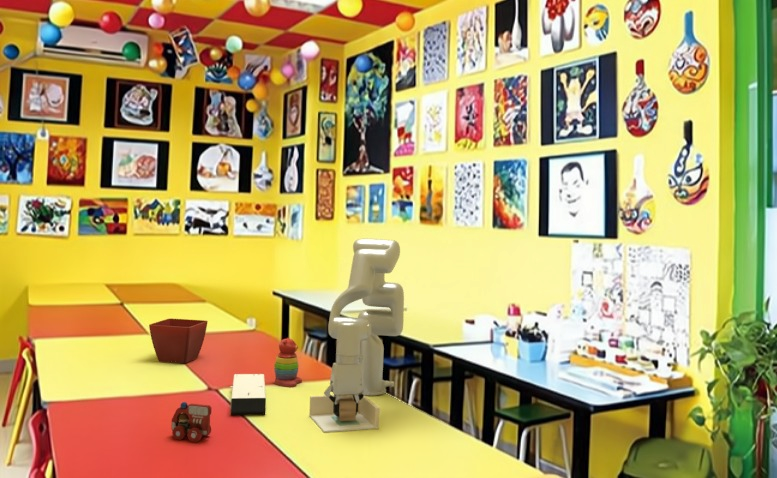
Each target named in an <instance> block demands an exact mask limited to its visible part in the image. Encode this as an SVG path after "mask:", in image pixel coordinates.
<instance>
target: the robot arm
mask: <svg viewBox="0 0 777 478" xmlns="http://www.w3.org/2000/svg"><path fill="white" fill-rule="evenodd" d="M352 251H353V256H352V264H351V269H350V273H349V279H348V285H347V288H346V289H345V290H344V291H343V292H342V293H340V294H339V296H338V297H337V298H336V299H335V301H334V302H333V304H332V306H331V310H330V313H329V319H328V320H329V321H328V330H327V331H328V335H329V336H330V337H331V338H332V339H336V351H335V352H336V353H335V362H333V363H332V368H331V373H330V379H329V386H328V387H326V389H325V390H324V391H323V394H324V395H326V396H327V397H328V398H329V399H330V400H331V401H332V402H333V403H334V404H333V413H334V414H335V415H336V416H337V417H339V399H340V396H341V395H353V399H354V401H355V402H356V415H357V412H358V403H359V402H360V400H361V399H362V398H363V397H364V396H365V397H366V396H368V397H369V396H382V395H384V394H386V392H387V387H389V388H390V387H394V386H395V382H394V381H389V380H384V379H383V372H384V371H383V370H384V369H383V368H384V350H385V348H384V344H383V341H382V340H381V339H380V337H379V336H388V337H398V336H400V335H401V334H402V333H403V330H404V318H405V317H404V314H405V312H404V309H405V307H404V306H405V294H404V293H405V292H404V288H403V286H402V285H401V284H400V283H398V282H386V281H385V274H390V273H392V272H393V271H394V269H395V267H396V265H397V263H398V262H399V261H398V260H399V258H400V255H401V247H400V244H399V242H398V241H397V240H393V239H381V238H380V239H378V238H358V239H356V240H355V241H354V242H353V245H352ZM359 300H362V303H363V305H365V306H367V307H372V308H373V307H375V308H387V309H388V308H389V309H390V310H385V309H384V310H383V309H372V308H371V309H370V308H368V309H364V310H362V311H360V312H359V313H358V315H357V317H353V316H340V315H341V313H342V311H343V310H344V308H346V307H347V306H348V305H349V304H352V303H354V302H356V301H359ZM331 393H333V394H331ZM332 395H334V397H333V396H332Z"/></svg>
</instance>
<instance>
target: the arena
mask: <svg viewBox="0 0 777 478" xmlns="http://www.w3.org/2000/svg"><path fill="white" fill-rule="evenodd" d="M331 395H332V396H333V397H334V394H331ZM340 397H352V398H353V395H341V396H340ZM353 400H354V399H353ZM333 404H334V403H333V402H332V401H331V400H330V399H329V398H328V397H327V396H326V395H325V394H324V395H310V396H309V418H311V419H312V421H313V422H314V423H315V424H316V426H318V428H319V429H320V430H321V431H322V433H324V434H325V433H338V432H348V431H349V432H351V431H363V430H365V431H366V430H374V429H375V430H376V429H378V430H379V425H380V407H379V406H378V405H377V404H375V403H374V402H373V401H372V400H370V399H369V397H367V396H366V395H365V396H364V397H363V398H362V399H361V400H360V402H359V403H358V412H357V415H356V420H349V421H340V420H339V418H338V417H337V416H336V415H335V414H334V413H333Z"/></svg>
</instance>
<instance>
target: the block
mask: <svg viewBox="0 0 777 478" xmlns="http://www.w3.org/2000/svg"><path fill="white" fill-rule="evenodd" d="M338 418H339V420H340V421H349V420H356V402H355V401H354V400H353V398H352V397H340V399H339V417H338Z"/></svg>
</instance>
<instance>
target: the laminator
mask: <svg viewBox="0 0 777 478" xmlns="http://www.w3.org/2000/svg"><path fill="white" fill-rule="evenodd" d="M265 381H266V380H265V374H264V373H235V374H233V380H232V385H231V386H229V387H230V389H232V392H231V401H230V416H262V415H264V416H265V415H266V408H267V407H266V404H267V403H266V402H267V397H266V395H267V394H266V383H265Z"/></svg>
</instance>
